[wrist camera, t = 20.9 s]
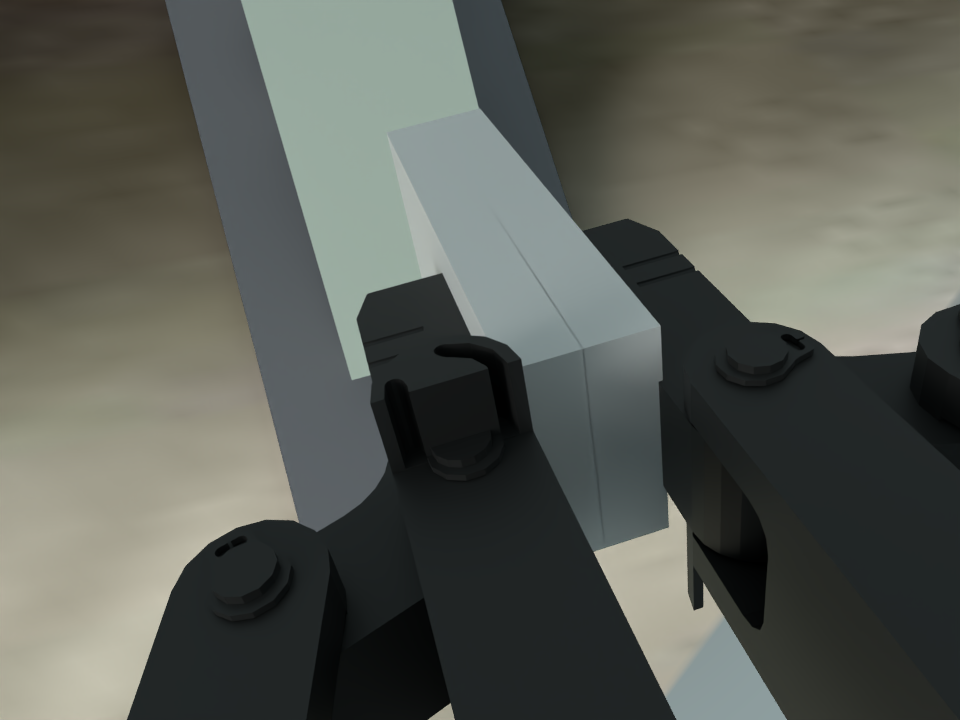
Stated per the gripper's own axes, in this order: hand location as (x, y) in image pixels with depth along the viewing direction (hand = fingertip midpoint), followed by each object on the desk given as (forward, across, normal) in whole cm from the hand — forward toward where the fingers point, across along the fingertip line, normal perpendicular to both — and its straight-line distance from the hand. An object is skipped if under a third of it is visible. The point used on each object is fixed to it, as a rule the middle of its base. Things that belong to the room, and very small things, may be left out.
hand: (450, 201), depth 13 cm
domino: (+6, 0, -7) cm, 10 cm away
